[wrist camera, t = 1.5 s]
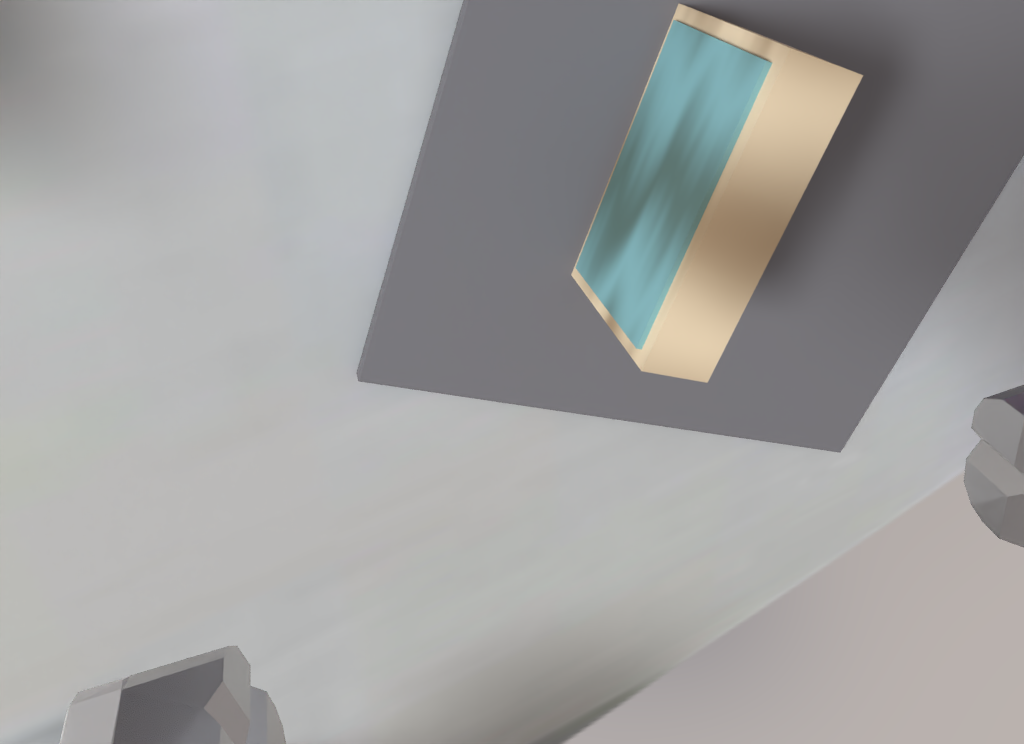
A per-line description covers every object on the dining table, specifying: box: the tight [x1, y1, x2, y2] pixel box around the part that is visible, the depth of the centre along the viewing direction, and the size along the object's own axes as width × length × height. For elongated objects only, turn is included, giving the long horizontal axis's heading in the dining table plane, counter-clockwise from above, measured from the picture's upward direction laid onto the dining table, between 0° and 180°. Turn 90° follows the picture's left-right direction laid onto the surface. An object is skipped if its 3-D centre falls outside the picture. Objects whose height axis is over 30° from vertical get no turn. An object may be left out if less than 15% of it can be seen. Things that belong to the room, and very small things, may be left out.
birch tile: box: [571, 4, 863, 383], centre depth 27 cm, size 10×3×7 cm, turn 161°
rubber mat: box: [357, 0, 1024, 452], centre depth 32 cm, size 22×24×1 cm
